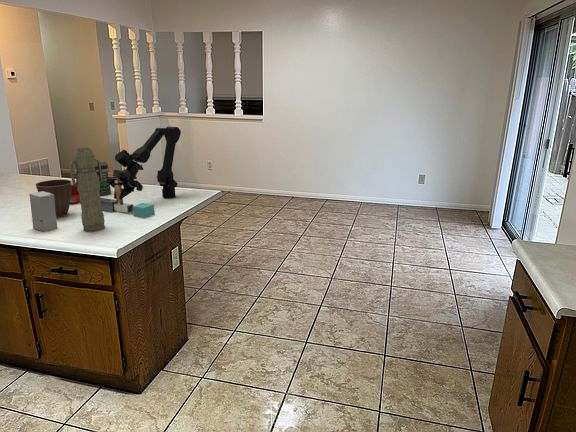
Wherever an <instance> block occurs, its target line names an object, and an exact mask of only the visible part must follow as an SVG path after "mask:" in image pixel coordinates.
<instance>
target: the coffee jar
mask: <svg viewBox="0 0 576 432" xmlns="http://www.w3.org/2000/svg"><path fill="white" fill-rule="evenodd" d="M100 162H101V169H102V177H103V181H102V182H101V183H100V190H99V193H100V197H101V196H108V195H111V194H112V188H111V185H110V184H108V183H107V182H106V181H107V179H108V178H109V165H108V163H107V162H106V161H100ZM95 165H96V167H95V169H96V173H97V175H98V177H99V171H98V163H97V162H95ZM99 180H100V179H99Z"/></svg>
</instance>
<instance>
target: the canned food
mask: <svg viewBox="0 0 576 432" xmlns="http://www.w3.org/2000/svg"><path fill="white" fill-rule="evenodd" d="M70 181H71V182H72V180H70ZM75 183H76V180H75ZM78 204H81V202H80V195H79V192H78V189H77V186H73V183H72V185H71V199H70V205H69V206H71V205H73V206H74V205H78Z"/></svg>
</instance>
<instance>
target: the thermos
mask: <svg viewBox="0 0 576 432" xmlns="http://www.w3.org/2000/svg"><path fill="white" fill-rule="evenodd" d="M101 162H102V161H100V160H99V159H98V158H95V154H94V152H93V150H92V148H89V147H80V148H77V149H75V152H74V159H73V160H70V163H69V169H70V177H71V181H72V183H73V186H77V189H78V192H79V195H80V202H81V203H80V207H81V213H80V216H81V224H82V227H83V228H82V230H83V231H84V232H87V233H88V232H89V233H90V232H92V233H94V232H99V231H103V230H105V228H106V225H105V222H106V221H105V215H104V211H102V209H101V201H100V198H101V196H100V193H99V190H100V183H101V182H102V181H103V177H102V169H101ZM95 163H98V171H99V177H98V175H97V173H96V169H95V167H96V165H95ZM74 165H75V168H76V176H75V172H74V171H75V170H74ZM99 179H100V180H99ZM75 181H76V183H75Z"/></svg>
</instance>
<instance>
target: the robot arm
mask: <svg viewBox="0 0 576 432" xmlns="http://www.w3.org/2000/svg"><path fill="white" fill-rule="evenodd" d="M181 133H182V131H181V129H180V128H179V127H178V126H166V127H156V128H155V129H154V132H152V133H151V135H150V136H149V138H148V139H147V140H146V141H145V143H143V145H142V146H141V147H138V148H136V150H134V151H133V152H132V153H129V152H128V151H127V150H126V149H122V150H121V151H119V152H118V153H116V154H115V156H114V160H115V161H116V162H117V163H118V164H120V165H121V166H122V167H123V168H126V169H123V170H120V169H113V171H112V177H108V179H107V181H106V182H107V183H108V184H110V187H112V188H114V189H115V185H121V188H122V193H121V195H120V197H119V199H120V200H121V199H122V198H123V199H124V198H125V197H126V196H128V195H130V194H131V193H134V192H135V190H136V191H137V192H142V191H143V189H144V186H143V184H142V183H140V181H138V180H137V178H138V177H137V175H138V174H139V172H140V171H144V167H143V164H146V163H147V162H148V161H149V160H150V157H151V155H152V154H151V152H152V151H153V150H154V148H155V147H156V145H158V143H159V142H160V141H161V139H162V138H163V137H164V138H165V139H164V140H165V150H164V156H163V162H162V166H161V169H160V170H157V175H156V181H157V182H158V184H159V187H162V188H161V195H162V198H163V199H165V200H167V198H168V199H175V198H177V196H176V188H177V187H178V183H179V182H177V181H176V180H175V179H174V173H173V169H172V168H173V163H174V157H175V150H176V145H177V143H178V141H180V137H181ZM113 199H114V200H116V193H115V190H114V191H113Z"/></svg>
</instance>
